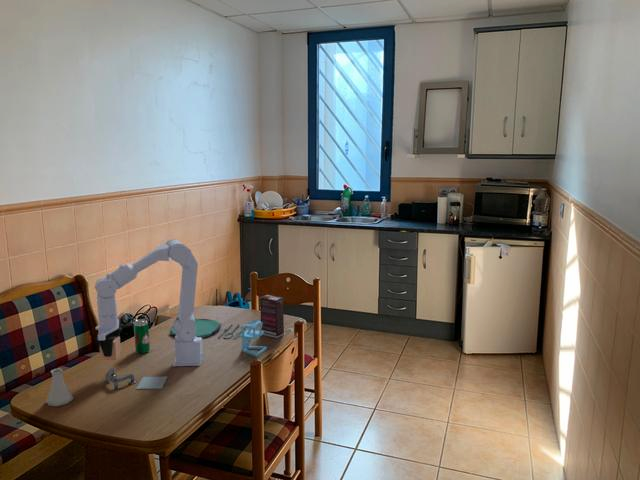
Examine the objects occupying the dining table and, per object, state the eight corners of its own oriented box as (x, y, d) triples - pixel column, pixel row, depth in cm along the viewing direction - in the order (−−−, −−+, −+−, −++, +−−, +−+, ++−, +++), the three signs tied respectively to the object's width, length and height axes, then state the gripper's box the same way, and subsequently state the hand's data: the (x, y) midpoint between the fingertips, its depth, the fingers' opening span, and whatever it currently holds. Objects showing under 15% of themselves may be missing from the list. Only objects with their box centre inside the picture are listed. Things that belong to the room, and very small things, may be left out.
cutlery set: (184, 321, 224) (184, 316, 224) (249, 326, 219) (249, 321, 218) (162, 338, 205) (162, 333, 205) (233, 345, 200) (233, 339, 199)
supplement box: (284, 334, 208) (284, 297, 205) (277, 338, 204) (276, 300, 201) (267, 330, 213) (267, 294, 210) (260, 334, 209) (259, 297, 206)
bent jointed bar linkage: (141, 373, 173) (141, 365, 173) (132, 388, 163) (131, 380, 162) (110, 374, 173) (109, 366, 172) (98, 389, 162) (98, 381, 162)
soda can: (145, 354, 189) (143, 324, 186) (133, 353, 190) (130, 323, 187) (152, 349, 194) (150, 319, 191) (140, 348, 195) (138, 318, 192)
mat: (167, 377, 171) (167, 376, 171) (161, 388, 163) (161, 387, 163) (143, 377, 170) (143, 377, 170) (136, 389, 163) (136, 388, 163)
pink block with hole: (121, 353, 173) (119, 336, 172) (116, 359, 168) (114, 342, 167) (106, 353, 173) (104, 337, 171) (100, 360, 168) (99, 342, 167)
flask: (55, 409, 151) (52, 378, 149) (41, 403, 154) (38, 372, 152) (78, 399, 157) (75, 368, 155) (64, 393, 160) (61, 363, 158)
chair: (248, 345, 197) (247, 316, 195) (267, 349, 194) (266, 319, 192) (237, 353, 190) (236, 322, 188) (256, 356, 187) (255, 325, 185)
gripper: (102, 306, 174) (106, 344, 177) (86, 321, 160) (90, 362, 163) (124, 306, 175) (126, 343, 177) (109, 321, 160) (112, 361, 163)
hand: (110, 352), depth 170 cm, fingers closed on pink block with hole, 5 cm apart
